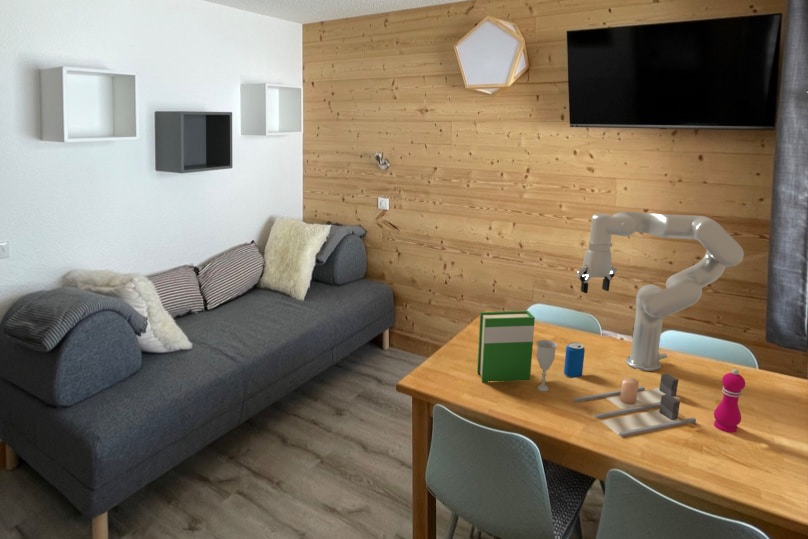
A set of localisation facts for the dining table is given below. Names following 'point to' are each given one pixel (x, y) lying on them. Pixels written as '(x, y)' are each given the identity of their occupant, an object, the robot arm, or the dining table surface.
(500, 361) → the hardback book
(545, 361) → the chalice
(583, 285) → the robot arm
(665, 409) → the strip
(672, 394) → the strip
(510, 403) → the dining table surface
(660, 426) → the track board
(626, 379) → the light brown rounded piece
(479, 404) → the dining table surface
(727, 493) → the dining table surface
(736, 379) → the pepper mill
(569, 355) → the beverage can
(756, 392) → the dining table surface
